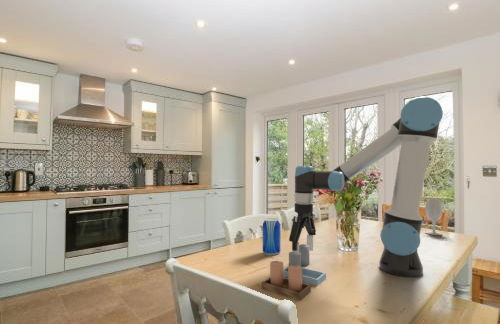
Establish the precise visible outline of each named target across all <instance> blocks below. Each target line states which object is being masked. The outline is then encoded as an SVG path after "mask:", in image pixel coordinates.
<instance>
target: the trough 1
mask: <svg viewBox="0 0 500 324" xmlns="http://www.w3.org/2000/svg"><path fill="white" fill-rule="evenodd" d="M261 289H262V290H264V291H268V292H271V293H274V294H277V295H281V296H283V297H286V298H289V299H293V300H296V301H300V302H301V301H302V300H303V299H304V298H305V297H307V296H308V295H309V294H310V293H311V292H312V284H308V283H304V282H302V291H301V292H300V293H298V292H295V291H292V290H288V278H286V277H283V288H282V287H278V286H275V285H271V284H270V277H268V278H267V279H266V280H263V281H262V282H261Z"/></svg>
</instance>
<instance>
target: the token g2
mask: <svg viewBox="0 0 500 324" xmlns="http://www.w3.org/2000/svg"><path fill="white" fill-rule="evenodd" d="M299 253H301V267H307V266H310V250H309V245H307V244H303V243H302V244H299Z"/></svg>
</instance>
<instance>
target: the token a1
mask: <svg viewBox="0 0 500 324" xmlns="http://www.w3.org/2000/svg"><path fill="white" fill-rule="evenodd" d="M283 270H284V262H282V261H281V260H273V261H270V263H269V278H270V284H271V285H275V286H278V287H282V288H283V278H284V277H283Z"/></svg>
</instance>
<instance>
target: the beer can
mask: <svg viewBox="0 0 500 324" xmlns="http://www.w3.org/2000/svg"><path fill="white" fill-rule="evenodd" d="M281 235H282V234H281V223H280V220H279V219H278V218H272V217H269V218H265V219H264V220H263V223H262V252H263V254H264V255H265V256H268V257H269V256H277V255H279V254H280V253H281V246H282V245H281V244H282V243H281V238H282V237H281Z"/></svg>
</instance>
